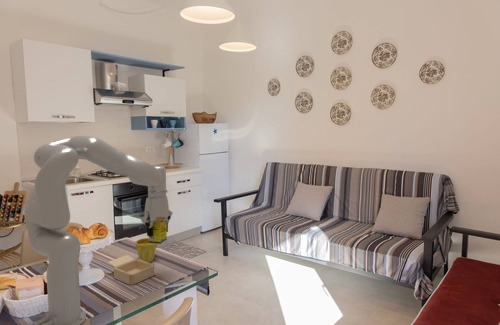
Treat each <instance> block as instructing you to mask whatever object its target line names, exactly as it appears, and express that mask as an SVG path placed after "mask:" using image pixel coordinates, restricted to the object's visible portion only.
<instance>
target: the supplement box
mask: <svg viewBox="0 0 500 325" xmlns="http://www.w3.org/2000/svg"><path fill="white" fill-rule="evenodd" d="M149 224H150V223H149ZM152 228H153V237H150V236H148V238H149V243H157V245H158V244H160V245H161V244H162V243H164V242H165V241H167V238H168V235H167V234H168V232H167V218H166V217H162V218H158V219H157V220H156V221H155V222H154V223H153V225H152Z"/></svg>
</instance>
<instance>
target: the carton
mask: <svg viewBox="0 0 500 325" xmlns="http://www.w3.org/2000/svg"><path fill="white" fill-rule="evenodd" d="M153 276H155V264H154V263H151V262H146V261H143V260H140V259H139V258H138V259H135V260H133V261H131V262H128V263H126V264H123V265H120V266H118V267H113V279H115V280H118V281H120V282H122V283H125V284H127V285H130V286H134V285H136V284H139V283H140V282H143V281H145V280H147V279H149V278H151V277H153Z"/></svg>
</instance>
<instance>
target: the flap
mask: <svg viewBox="0 0 500 325" xmlns="http://www.w3.org/2000/svg"><path fill="white" fill-rule="evenodd" d="M133 260H136V259H135V258H134V257H132V256H131V255H129V254H125V255H123V256H120V257H117V258H115V259H112V260H109V261H107V264H109V265H110V266H112V267H113V268H115V267H118V266H120V265H123V264H126V263H128V262H131V261H133Z"/></svg>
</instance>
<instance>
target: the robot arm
mask: <svg viewBox="0 0 500 325" xmlns="http://www.w3.org/2000/svg"><path fill="white" fill-rule="evenodd" d="M33 160H34V164H35V165H36V166H37V167H38V168H40V169H39V170H38V173H37V175H36V176H35V180H34V194H35V198H34V199H32V200H31V201H30V202H29V203H28V204H27V206H26V207H25V210H24V220H25V226H26V230H27V231H26V232H27V233H28V238H29V242H30V246H31V248H32V250H33V251H34V252H35V253H37V254H39V255H41V256H43V257H45V258H47V259H48V264H47V268H46V274H45V275H46V288H47V290H46V291H47V306H48V307H47V308H48V311H47V312H45V313H44V314H45V316H43V317H42V318H41V319H38V320H36V321H34V322H33V323H32V325H81V324H83V323H85V320H86V318H87V314H86V312H85V311H84V310H83V309H82V308H81V294H80V292H81V291H80V273H79V272H80V270H79V261H80V254H81V241H80V239H79V237H78V236H77V235H76V234H74V233H73V232H70V231H66V230H64V228H66V227H67V226H68V225H69V223H70V221H71V212H70V206H69V202H68V195H67V191H66V183H67V182H66V181H67V179H68V177H69V175H70V174H71V173H72V171H73V170H74V169H75V168H76V167H77V165H78V163H79V160H85V161H88V162H90V163H93V164H94V165H97V166H98V167H100V168H102V169H105V170H106V171H109V172H110V173H113V174H116V175H121V176H126V177H128V180H129V181H130V182H131V183H132V184H134V185H139V186H145V187H147V194H148V196H147V197H146V199H145V202H144V203H145V206H144V216H142V217H141V219H140V221H141V222H142V225H144V226H145V227H146V236H147V237H149V236H150V237H153V228H152V225H153V223H154V222H155V221H156V220H157V219H158V218H162V217H166V218H167V233H168V232H169V223H170V220H171V218H172V215H173V211H171V210H170V208H169V200H168V196H167V193H168V190H167V170H166V169H167V168H166V167H165V166H163V165H152V164H150V163H149V162H147V161H145V160H142V159H139V158H138V157H135V156H133V155H130V154H128V153H125V152H123V151H121V150H120V149H118V148H116V147H114V146H112V145H110V144H109V143H107V142H105V141H103V140H102V139H100V138H99V137H97V136H89V135H76V136H71V137H67V138H63V139H61V140H57V141H54V142H48V143H45V144H43V145H40V146H39V147H38V148H37V149H36V150H35V152H34V154H33ZM149 223H150V224H149Z"/></svg>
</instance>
